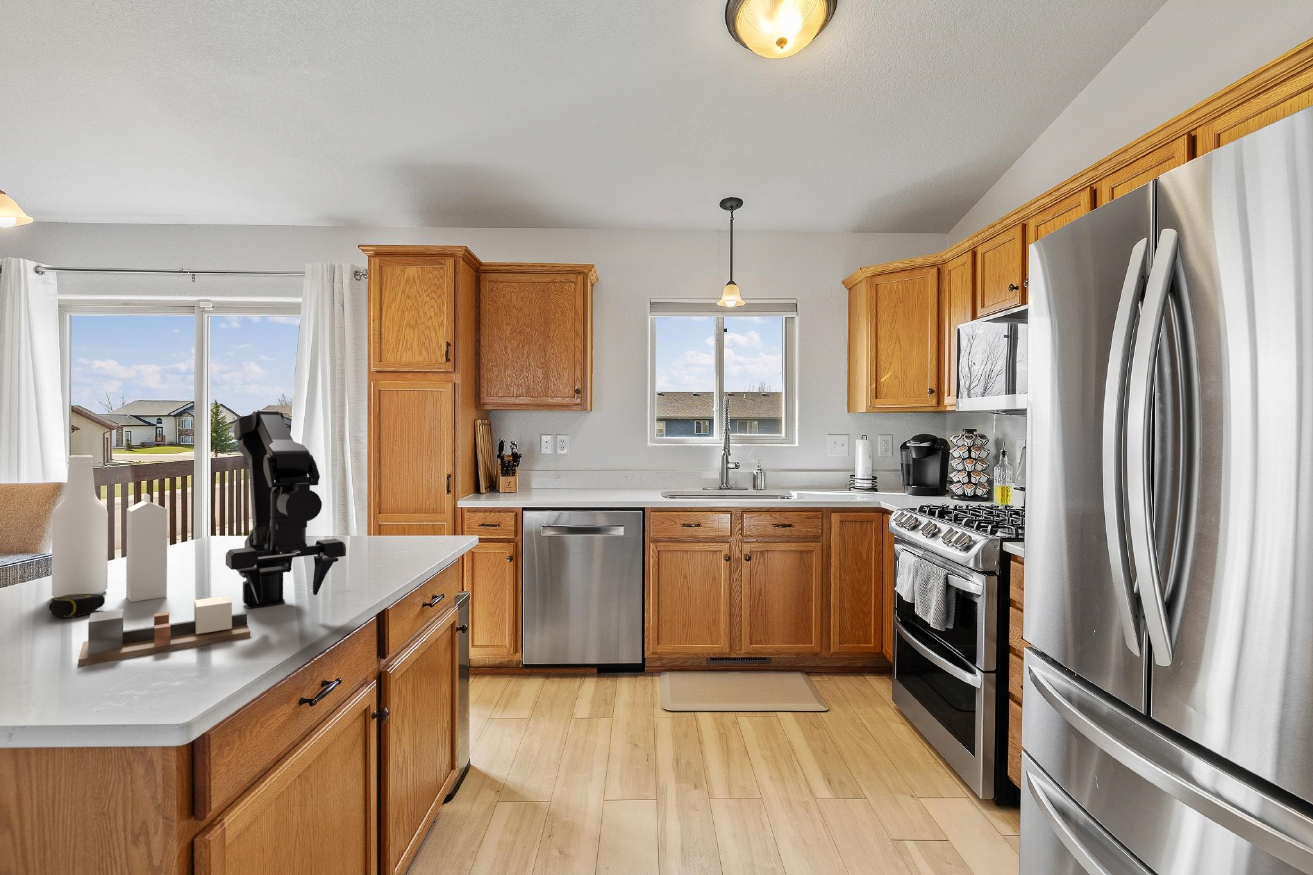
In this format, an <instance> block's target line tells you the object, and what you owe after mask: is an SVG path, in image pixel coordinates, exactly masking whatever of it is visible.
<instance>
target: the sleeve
mask: <svg viewBox="0 0 1313 875" xmlns="http://www.w3.org/2000/svg"><path fill="white" fill-rule="evenodd" d="M193 601H194V605H193V606H194V610H193V612H194V613H193V614H194V615H193V618H194V619H193V620H196V634H200V633H207V632H213V631H219V630H226V629H232V615H233V601H232V600H231V597H230V595H224V596H216V597H210V598H209V597H208V598H201V599H194V600H193Z"/></svg>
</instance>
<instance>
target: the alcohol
mask: <svg viewBox="0 0 1313 875" xmlns="http://www.w3.org/2000/svg"><path fill="white" fill-rule="evenodd" d="M67 459H68V462H67V465H68V471H67V480H66V489H65V495H64V498H63V500H62V501H60V502H59V504H58V505H56V507H55V508H54V509H53V512H52V515H51V596H53V599H54V598H56V597H61V596H64V595H73V594H99V595H103V594H105V592H106V591H107V589H108V586H109V585H108V584H109V583H108V582H109V580H108V578H109V577H108V575H109V573H108V572H109V569H108V564H109V561H108V560H109V558H108V556H109V555H108V553H109V546H108V545H109V536H108V535H109V521H108V520H109V512H108V509H107V506H106V505H105V503H104V502H102V501H101V500H100V499H99V498H98V496H97V493H96V489H95V486H96V485H95V477H94V469H93V468H94V467H93V466H94V465H93V464H94V461H93V459H94V456H93V455H91V454H86V455H85V454H84V455H82V454H80V455H79V454H78V455H73V454H72V455H68V456H67Z"/></svg>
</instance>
